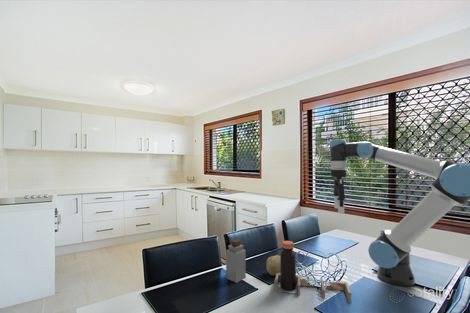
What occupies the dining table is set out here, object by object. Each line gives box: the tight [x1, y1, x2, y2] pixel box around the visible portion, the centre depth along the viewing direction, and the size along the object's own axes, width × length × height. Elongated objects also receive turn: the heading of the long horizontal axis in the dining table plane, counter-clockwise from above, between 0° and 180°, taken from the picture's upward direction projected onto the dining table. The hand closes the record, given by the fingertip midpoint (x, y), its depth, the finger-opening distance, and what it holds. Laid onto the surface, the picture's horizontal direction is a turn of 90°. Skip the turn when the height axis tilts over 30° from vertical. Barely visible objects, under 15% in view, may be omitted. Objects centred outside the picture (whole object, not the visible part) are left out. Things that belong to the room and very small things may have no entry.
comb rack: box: [273, 273, 352, 303], centre depth 108 cm, size 31×10×4 cm, turn 75°
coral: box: [265, 254, 281, 277], centre depth 124 cm, size 10×10×10 cm
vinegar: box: [279, 240, 297, 291], centre depth 111 cm, size 7×7×20 cm
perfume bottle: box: [225, 239, 247, 284], centre depth 120 cm, size 7×7×18 cm
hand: (339, 210), depth 126 cm, fingers open, 13 cm apart
